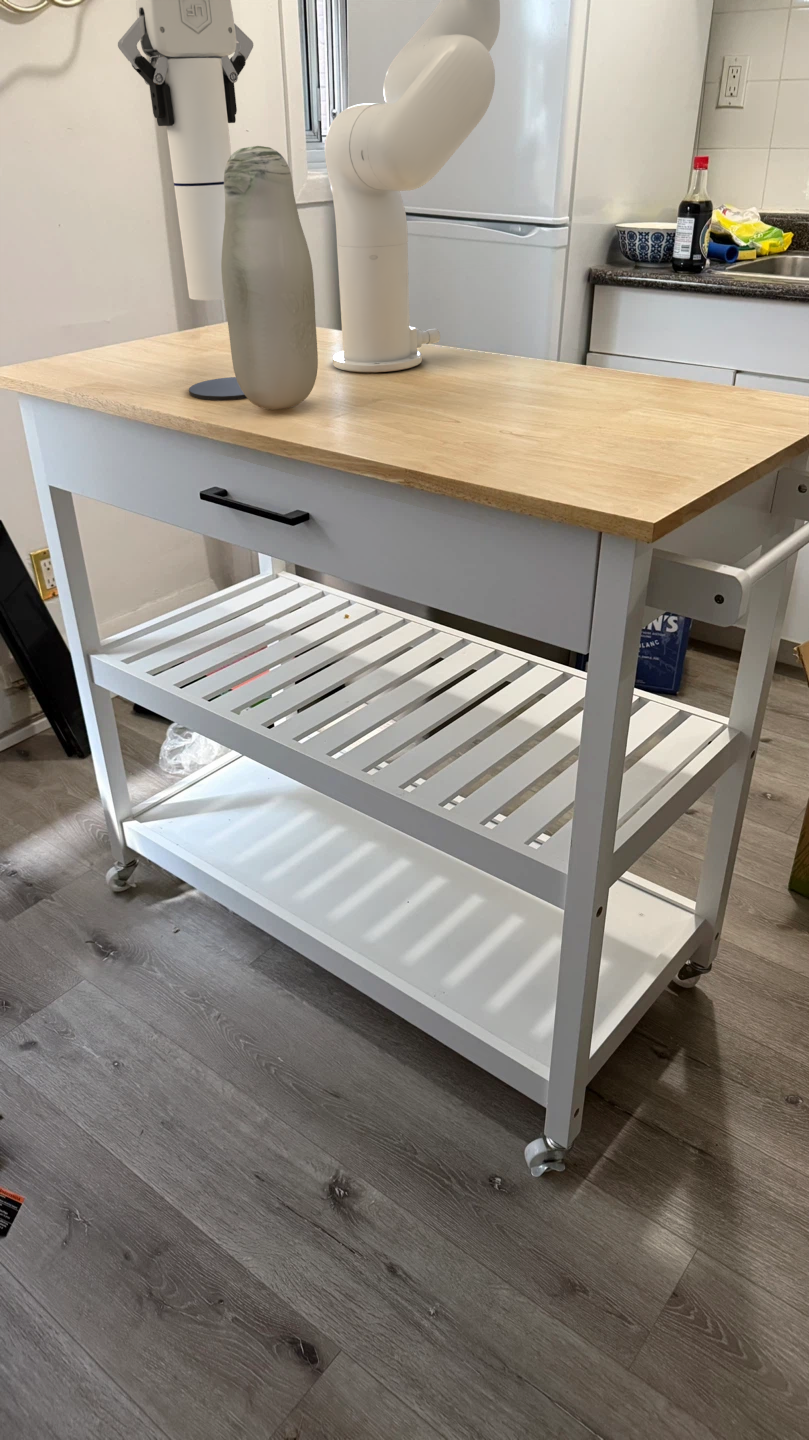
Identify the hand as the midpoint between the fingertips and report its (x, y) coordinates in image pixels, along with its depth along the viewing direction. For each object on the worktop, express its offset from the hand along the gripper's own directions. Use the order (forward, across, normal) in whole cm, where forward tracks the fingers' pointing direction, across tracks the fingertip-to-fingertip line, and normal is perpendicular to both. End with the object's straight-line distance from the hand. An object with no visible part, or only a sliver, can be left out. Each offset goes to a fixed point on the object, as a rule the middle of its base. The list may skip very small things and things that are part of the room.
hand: (197, 123), depth 120 cm
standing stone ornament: (+31, 0, -13) cm, 33 cm away
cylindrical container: (+19, 0, 0) cm, 19 cm away
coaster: (+30, 0, -1) cm, 30 cm away
